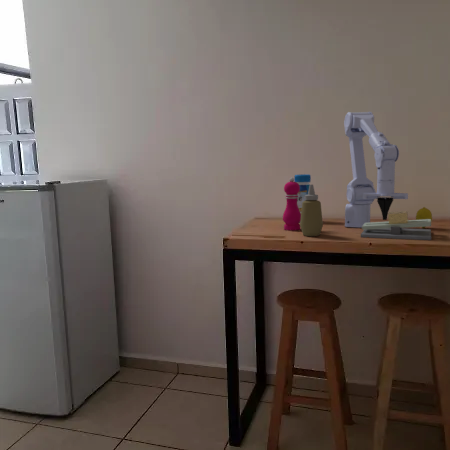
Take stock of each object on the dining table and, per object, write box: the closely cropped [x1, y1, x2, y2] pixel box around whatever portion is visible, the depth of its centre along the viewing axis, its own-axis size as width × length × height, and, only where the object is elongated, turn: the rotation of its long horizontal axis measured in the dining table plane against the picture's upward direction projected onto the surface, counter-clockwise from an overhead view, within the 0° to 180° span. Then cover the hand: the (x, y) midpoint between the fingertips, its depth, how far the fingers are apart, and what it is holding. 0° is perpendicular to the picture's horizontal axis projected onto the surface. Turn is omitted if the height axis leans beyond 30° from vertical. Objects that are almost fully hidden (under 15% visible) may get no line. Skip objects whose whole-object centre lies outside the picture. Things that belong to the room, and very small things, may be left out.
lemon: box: [415, 206, 433, 229], centre depth 170 cm, size 6×6×8 cm
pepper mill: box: [282, 177, 301, 231], centre depth 176 cm, size 7×7×20 cm
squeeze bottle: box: [299, 184, 324, 237], centre depth 162 cm, size 8×8×18 cm
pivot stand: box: [360, 226, 432, 241], centre depth 160 cm, size 22×16×4 cm
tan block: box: [387, 210, 409, 224], centre depth 159 cm, size 6×5×4 cm
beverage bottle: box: [293, 173, 312, 224], centre depth 196 cm, size 8×8×20 cm
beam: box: [361, 219, 432, 231], centre depth 159 cm, size 22×9×2 cm, turn 67°
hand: (384, 219), depth 161 cm, fingers closed
